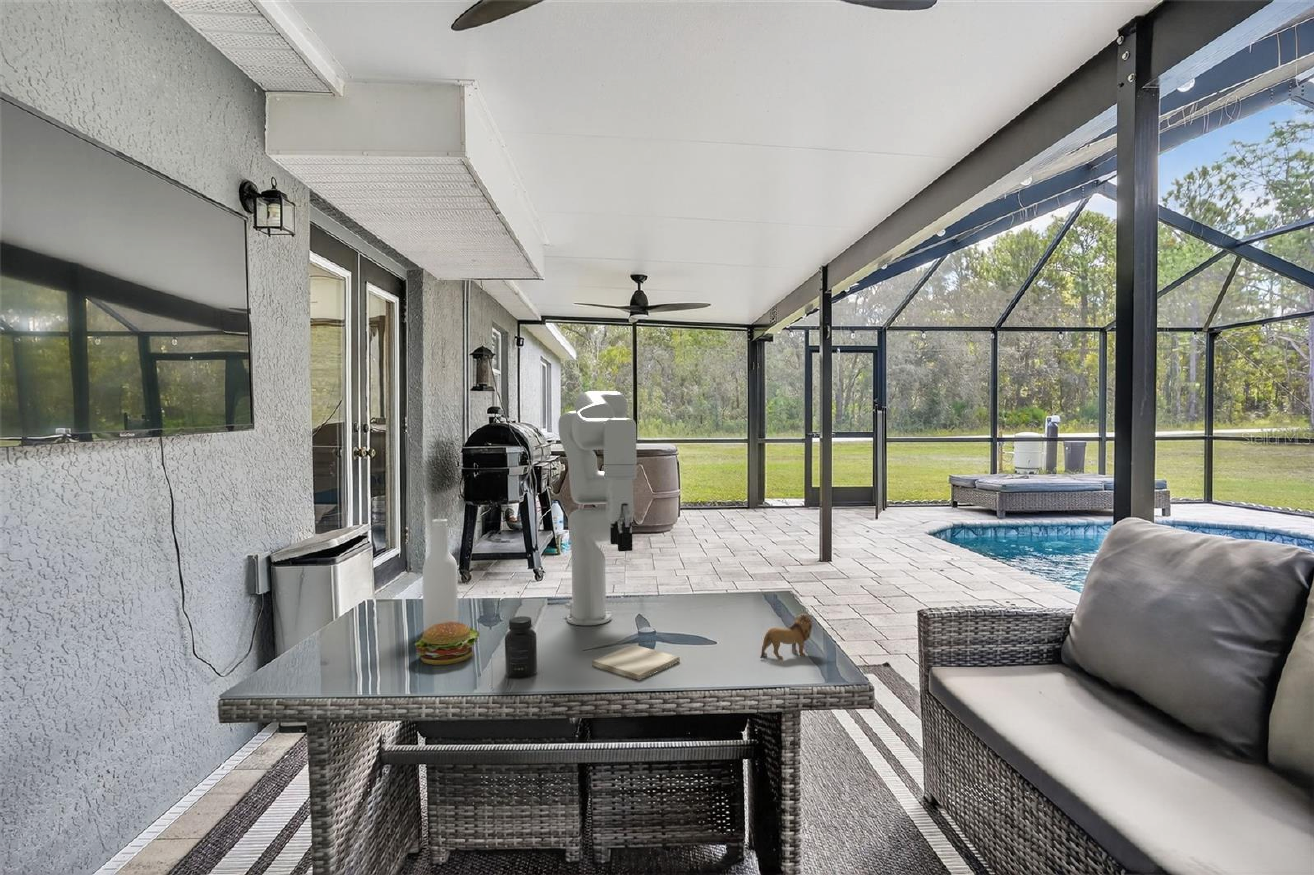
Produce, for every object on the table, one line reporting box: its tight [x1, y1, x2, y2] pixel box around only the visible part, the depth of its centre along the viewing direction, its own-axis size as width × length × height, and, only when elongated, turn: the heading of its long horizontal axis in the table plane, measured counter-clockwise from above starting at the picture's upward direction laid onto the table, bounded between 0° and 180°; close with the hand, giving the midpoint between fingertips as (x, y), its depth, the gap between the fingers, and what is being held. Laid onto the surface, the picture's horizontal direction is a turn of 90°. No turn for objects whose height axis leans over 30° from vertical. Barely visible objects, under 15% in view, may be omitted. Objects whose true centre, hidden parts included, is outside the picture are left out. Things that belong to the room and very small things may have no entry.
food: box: [414, 621, 480, 666], centre depth 150 cm, size 14×14×8 cm
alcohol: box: [422, 518, 459, 632], centre depth 171 cm, size 9×9×30 cm
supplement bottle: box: [504, 615, 538, 680], centre depth 139 cm, size 7×7×12 cm
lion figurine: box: [759, 613, 813, 660], centre depth 149 cm, size 15×5×9 cm, turn 116°
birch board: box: [592, 644, 680, 681], centre depth 144 cm, size 14×14×1 cm
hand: (621, 547), depth 145 cm, fingers open, 9 cm apart
